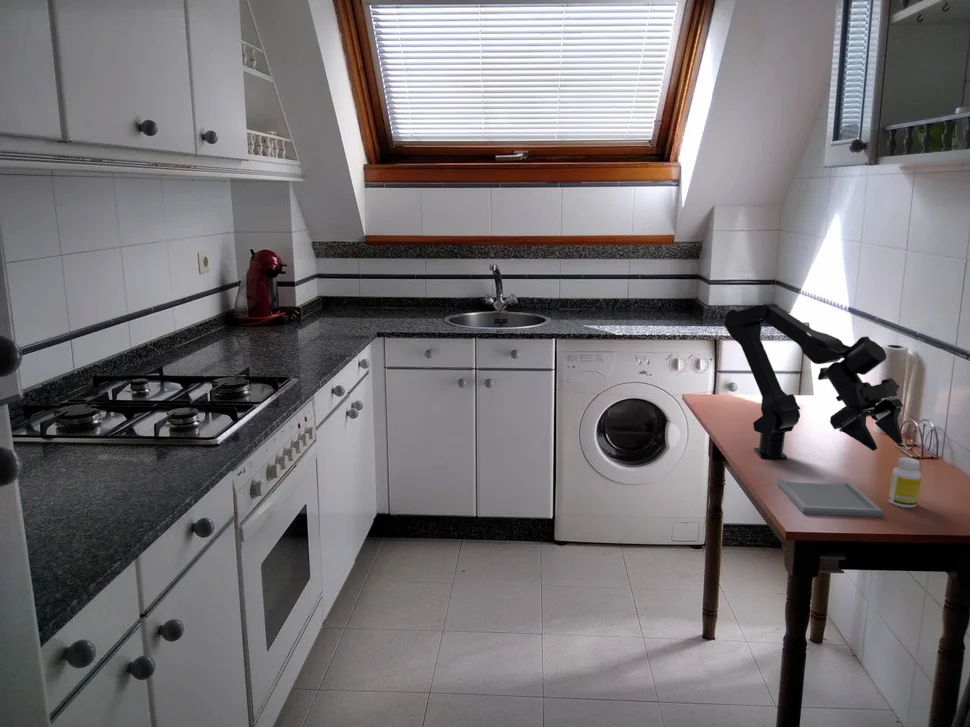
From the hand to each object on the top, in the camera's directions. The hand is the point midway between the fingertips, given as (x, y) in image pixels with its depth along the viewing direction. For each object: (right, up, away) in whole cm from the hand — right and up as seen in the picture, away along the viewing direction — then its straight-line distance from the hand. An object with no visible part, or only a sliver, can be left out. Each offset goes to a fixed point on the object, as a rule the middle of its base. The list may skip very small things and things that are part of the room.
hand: (888, 446), depth 172 cm
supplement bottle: (+2, -12, -2) cm, 13 cm away
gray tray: (-14, -11, -1) cm, 18 cm away
